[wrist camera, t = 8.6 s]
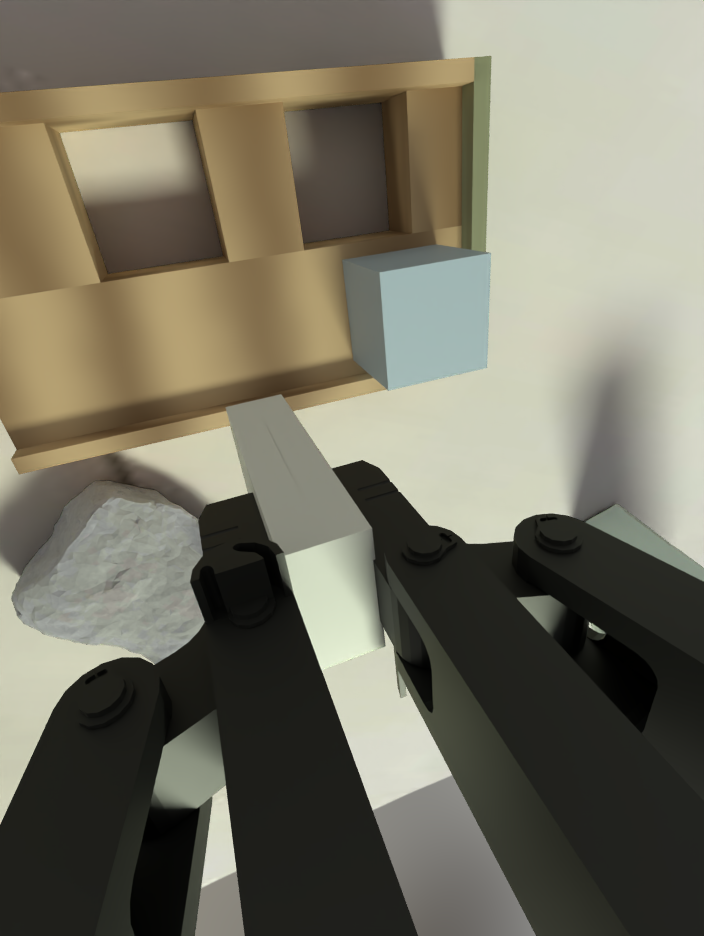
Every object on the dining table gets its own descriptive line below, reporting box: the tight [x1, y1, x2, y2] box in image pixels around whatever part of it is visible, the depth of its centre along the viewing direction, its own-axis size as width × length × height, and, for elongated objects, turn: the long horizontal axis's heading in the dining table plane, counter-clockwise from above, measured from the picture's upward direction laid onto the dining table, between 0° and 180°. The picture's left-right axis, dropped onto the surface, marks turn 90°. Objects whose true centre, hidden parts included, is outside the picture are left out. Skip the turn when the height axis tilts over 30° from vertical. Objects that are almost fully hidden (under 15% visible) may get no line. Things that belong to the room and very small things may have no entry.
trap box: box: [0, 56, 491, 474], centre depth 23 cm, size 24×14×4 cm, turn 96°
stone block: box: [12, 481, 205, 664], centre depth 30 cm, size 12×5×10 cm
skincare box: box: [585, 504, 704, 634], centre depth 42 cm, size 21×6×16 cm, turn 25°
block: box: [342, 244, 491, 391], centre depth 23 cm, size 5×5×5 cm
